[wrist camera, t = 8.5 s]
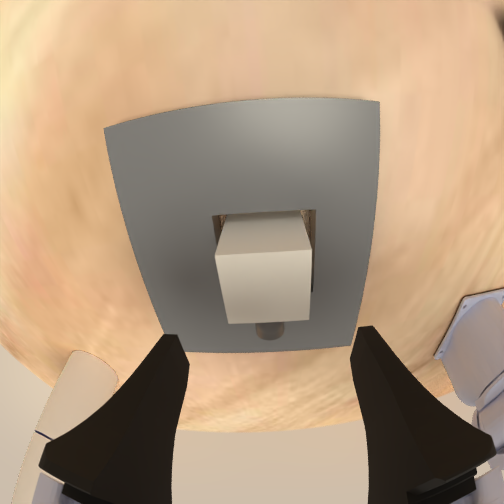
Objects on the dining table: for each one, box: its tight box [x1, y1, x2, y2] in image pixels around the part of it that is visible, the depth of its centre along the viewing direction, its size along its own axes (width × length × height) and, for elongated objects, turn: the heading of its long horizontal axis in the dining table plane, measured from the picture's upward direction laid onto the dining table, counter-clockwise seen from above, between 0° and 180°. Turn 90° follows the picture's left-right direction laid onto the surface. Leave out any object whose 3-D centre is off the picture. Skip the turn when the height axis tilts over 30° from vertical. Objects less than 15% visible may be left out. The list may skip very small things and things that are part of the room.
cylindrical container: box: [11, 350, 118, 504], centre depth 18 cm, size 7×7×25 cm
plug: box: [215, 210, 312, 341], centre depth 16 cm, size 6×4×6 cm
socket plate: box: [104, 98, 380, 353], centre depth 17 cm, size 18×15×2 cm
